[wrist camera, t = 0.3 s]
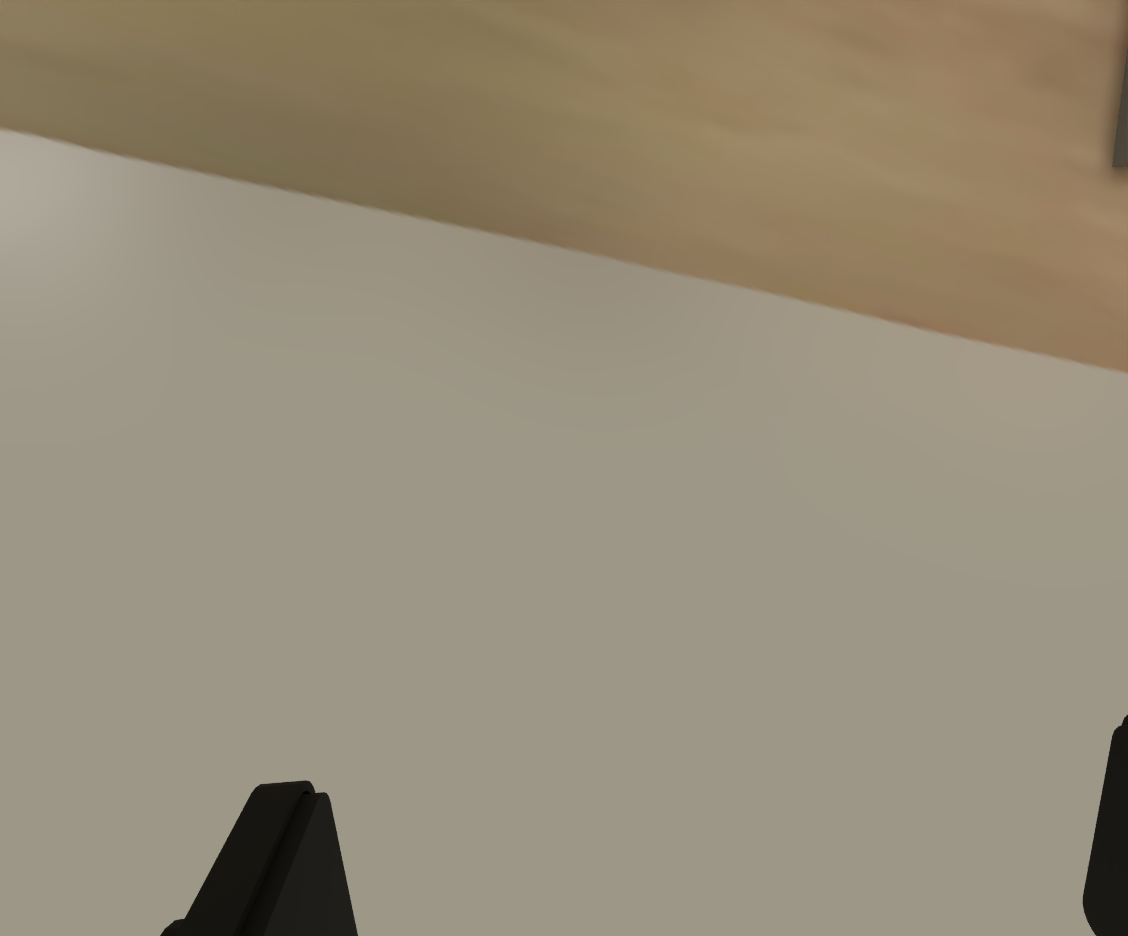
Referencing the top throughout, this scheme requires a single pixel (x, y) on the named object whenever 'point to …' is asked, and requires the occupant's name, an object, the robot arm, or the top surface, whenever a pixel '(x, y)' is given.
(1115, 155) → the base block
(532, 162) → the top surface
